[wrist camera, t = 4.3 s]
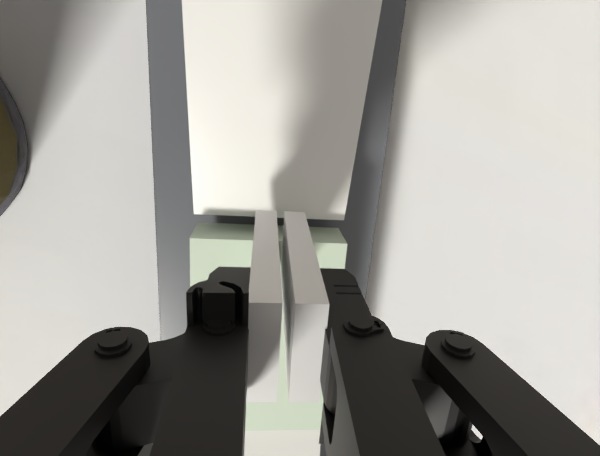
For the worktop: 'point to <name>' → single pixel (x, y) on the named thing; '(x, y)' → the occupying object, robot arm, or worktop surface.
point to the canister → (11, 149)
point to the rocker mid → (238, 253)
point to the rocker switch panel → (181, 219)
